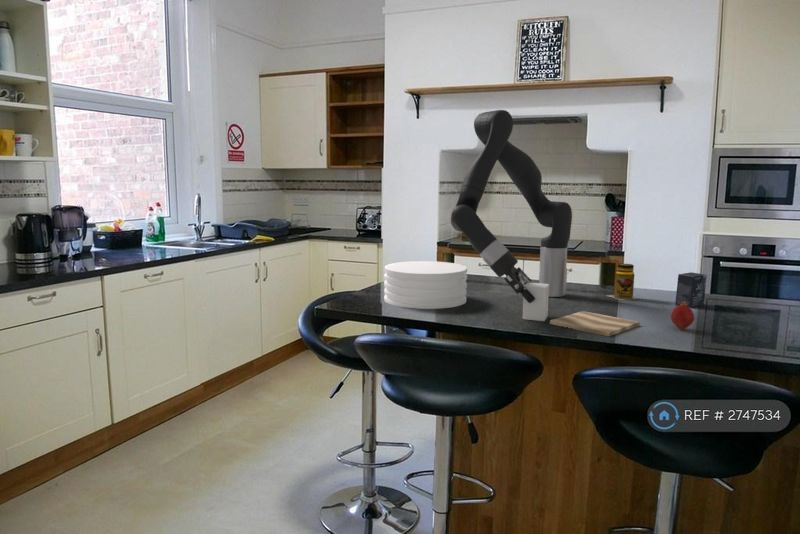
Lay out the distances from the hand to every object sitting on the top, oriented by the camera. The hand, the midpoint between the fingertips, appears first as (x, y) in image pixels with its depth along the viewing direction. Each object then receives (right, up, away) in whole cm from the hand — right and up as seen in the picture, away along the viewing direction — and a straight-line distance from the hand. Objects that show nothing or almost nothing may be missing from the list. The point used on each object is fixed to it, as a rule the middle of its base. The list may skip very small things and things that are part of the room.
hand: (535, 298), depth 174 cm
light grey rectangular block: (0, -6, +1) cm, 6 cm away
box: (+56, -4, +20) cm, 60 cm away
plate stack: (-32, -2, +26) cm, 41 cm away
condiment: (+38, -2, +32) cm, 50 cm away
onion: (+38, -8, -12) cm, 40 cm away
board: (+15, -7, -7) cm, 18 cm away
